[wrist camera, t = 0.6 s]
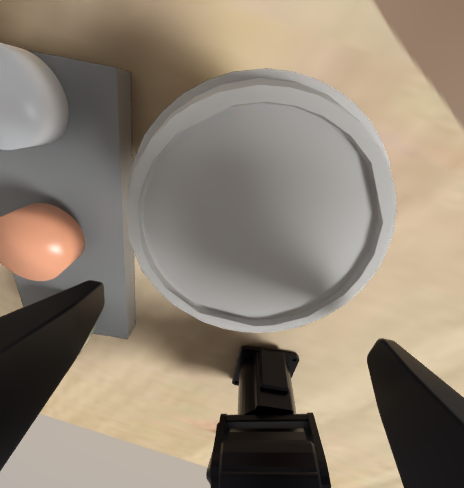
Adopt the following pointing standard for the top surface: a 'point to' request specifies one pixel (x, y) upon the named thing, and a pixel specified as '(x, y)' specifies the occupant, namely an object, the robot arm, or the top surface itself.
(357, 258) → the disposable coffee cup
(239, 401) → the robot arm
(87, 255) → the panel
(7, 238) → the button terracotta
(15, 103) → the button bluegrey
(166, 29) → the top surface
